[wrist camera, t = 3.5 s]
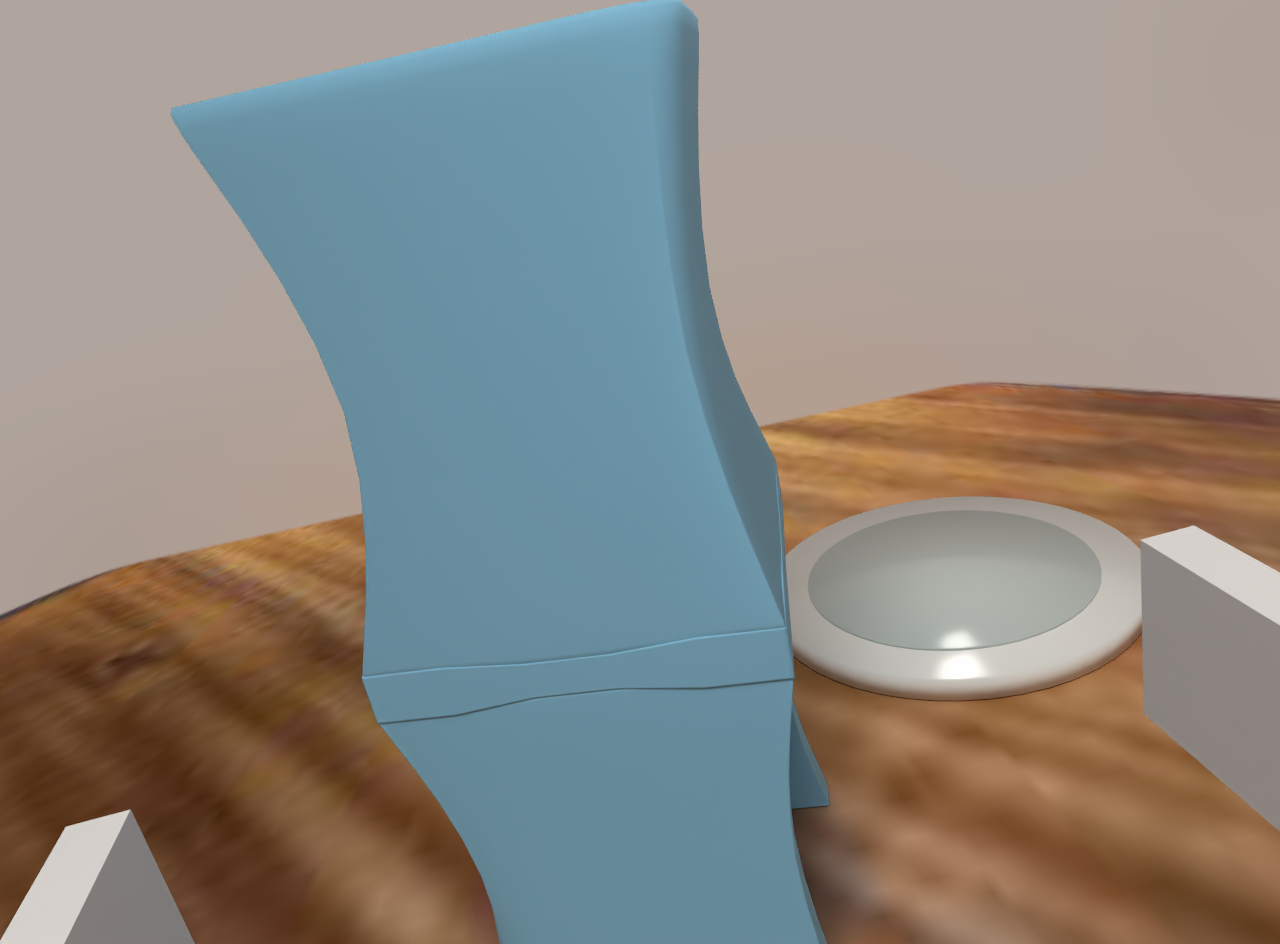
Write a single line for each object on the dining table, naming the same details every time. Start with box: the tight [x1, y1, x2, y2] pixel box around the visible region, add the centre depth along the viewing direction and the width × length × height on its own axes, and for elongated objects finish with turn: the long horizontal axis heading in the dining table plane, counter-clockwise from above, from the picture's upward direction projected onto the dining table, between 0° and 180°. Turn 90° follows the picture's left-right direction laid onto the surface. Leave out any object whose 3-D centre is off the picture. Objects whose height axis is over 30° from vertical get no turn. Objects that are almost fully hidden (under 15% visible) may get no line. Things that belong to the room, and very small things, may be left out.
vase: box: [171, 0, 830, 944], centre depth 21 cm, size 8×8×20 cm
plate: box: [785, 497, 1142, 701], centre depth 36 cm, size 13×13×1 cm
